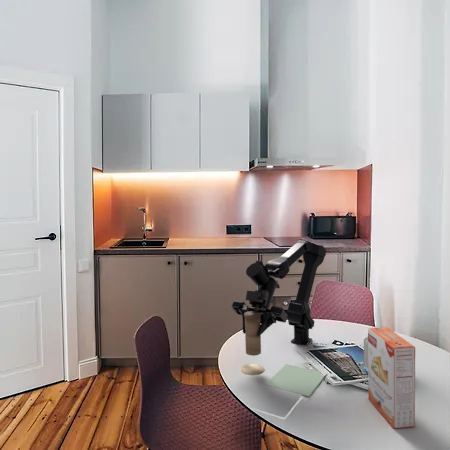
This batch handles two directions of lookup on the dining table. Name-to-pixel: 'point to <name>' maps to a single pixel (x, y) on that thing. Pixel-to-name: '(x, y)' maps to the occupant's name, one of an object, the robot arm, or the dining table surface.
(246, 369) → the coaster
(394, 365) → the cracker box
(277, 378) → the mat
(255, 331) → the canister
